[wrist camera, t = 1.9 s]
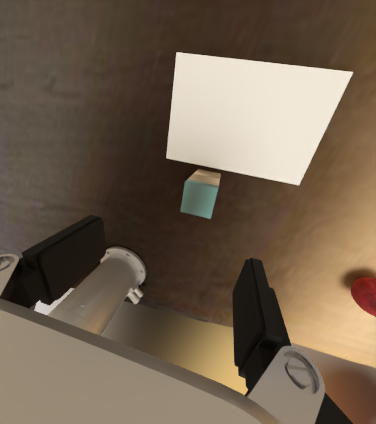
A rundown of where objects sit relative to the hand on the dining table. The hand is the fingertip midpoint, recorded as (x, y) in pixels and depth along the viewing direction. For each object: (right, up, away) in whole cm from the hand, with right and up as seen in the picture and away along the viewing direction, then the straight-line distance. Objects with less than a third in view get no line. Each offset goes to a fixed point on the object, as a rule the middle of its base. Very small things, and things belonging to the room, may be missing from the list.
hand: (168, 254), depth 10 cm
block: (+5, +8, +18) cm, 21 cm away
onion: (+33, -10, +20) cm, 40 cm away
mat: (+9, +16, +14) cm, 23 cm away
